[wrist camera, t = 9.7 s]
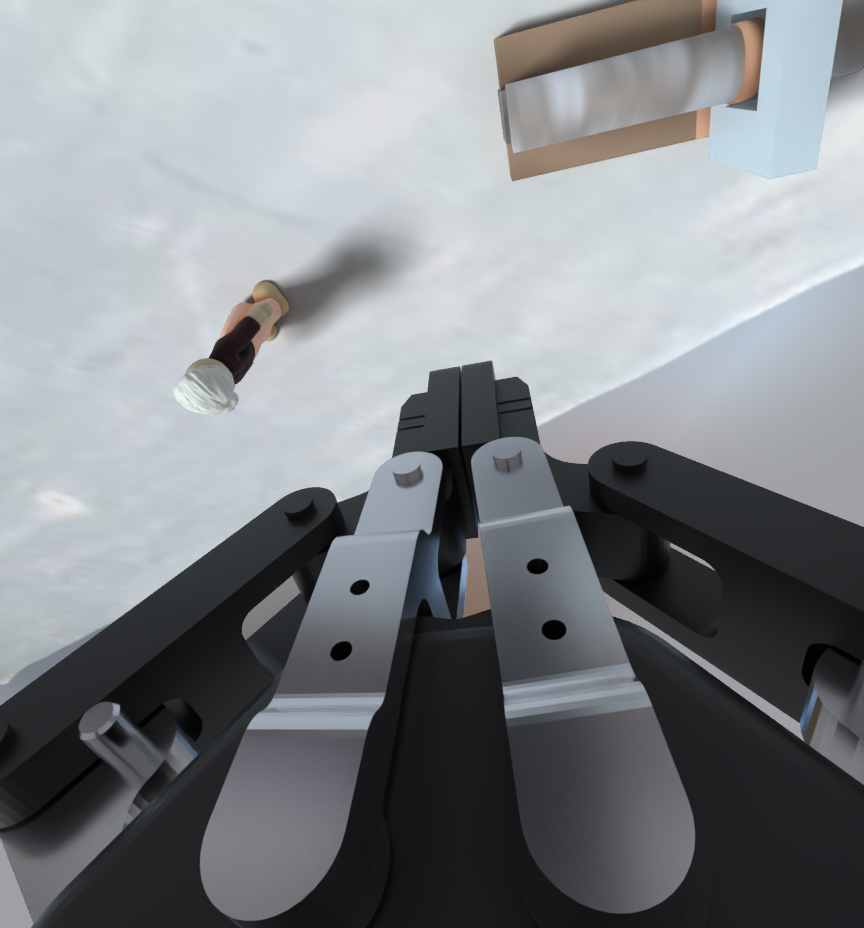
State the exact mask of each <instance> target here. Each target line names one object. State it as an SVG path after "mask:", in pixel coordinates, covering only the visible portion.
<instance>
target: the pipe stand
mask: <svg viewBox="0 0 864 928" xmlns="http://www.w3.org/2000/svg"><path fill="white" fill-rule="evenodd" d="M716 10H717V0H636V1H632V2H628V3H625V4H621V5H617V6H614V7H610V8H606V9H602V10H599V11H595V12H591V13H588V14H584V15H580V16H576V17H573V18H569V19H565V20H562V21H558V22H554V23H551V24H547V25H543V26H539V27H536V28H532V29H528V30H525V31H521V32H517V33H513V34H510V35H506V36H502V37H499V38H495V39H494V45H495V53H496V61H497V69H498V77H499V86H500V90H498V96H499V104H500V112H501V120H502V129H503V137H504V140H505V142H506V143H507V151H508V159H509V167H510V176H511V179H512V181H515V180H520V179H524V178H528V177H533V176H537V175H541V174H546V173H550V172H555V171H559V170H563V169H568V168H572V167H577V166H581V165H585V164H590V163H594V162H598V161H603V160H607V159H612V158H616V157H620V156H625V155H629V154H634V153H638V152H642V151H647V150H651V149H655V148H660V147H664V146H669V145H673V144H677V143H682V142H686V141H691V140H695V139H696V140H697V139H701V138H705V137H709V133H710V115H711V107H712V106H716V105H721V104H725V103H727V104H729V105H731V104H735V103H739V102H743V101H748V100H752V99H755V98H756V97H757V96H758V93H759V83H760V72H761V62H762V52H763V41H764V31H765V20H766V18H761V17H757V18H753V19H749V20H745V21H741V22H737V23H734V24H732V25H731V26H730V27H728V28H724V29H720V30H716V31H715V27H716ZM862 68H864V0H843V3H842V9H841V16H840V22H839V29H838V35H837V41H836V48H835V54H834V61H833V67H832V74H831V78H835V77H839V76H844V75H848V74H852V73H856V72H858V71H860V70H861V69H862Z"/></svg>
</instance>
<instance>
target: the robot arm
mask: <svg viewBox="0 0 864 928" xmlns="http://www.w3.org/2000/svg"><path fill="white" fill-rule="evenodd" d="M399 420H400V421H399V423H398V431H397V434H396V440H395V445H394V451H393V456H392V459H390V460H388V461H386V462H385V463H384V464H382V465H381V466H380V467H379V468H378V470H377V471H376V473H375V475H374V477H373V480H372V483H371V486H370V489H369V491H367V492H365V493H363V494H360V495H358V496H355V497H353V498H350V499H347V500H344V501H341V502H339V503H337V500H336V498H335V496H334V494H333V493H332V492H331V491H330V490H328V489H325V488H320V487H312V488H305V489H301V490H298V491H295V492H293V493H291V494H289V495H287V496H285V497H283V498H282V499H280V500H279V501H278V502H276V503H275V504H274V505H272V506H271V507H269V508H268V509H267V510H265V511H264V512H263V513H261V514H260V515H259V516H257V517H256V518H255V519H253V520H252V521H250V522H249V523H248V524H246V525H245V526H244V527H242V528H241V529H240V530H238V531H237V532H235V533H234V534H233V535H231V536H230V537H229V538H227V539H226V540H225V541H223V542H222V543H221V544H219V545H218V546H216V547H215V548H214V549H212V550H211V551H210V552H208V553H207V554H206V555H204V556H203V557H202V558H200V559H199V560H197V561H196V562H195V563H193V564H192V565H191V566H189V567H188V568H187V569H185V570H184V571H183V572H181V573H180V574H178V575H177V576H176V577H174V578H173V579H172V580H170V581H169V582H168V583H166V584H165V585H163V586H162V587H161V588H159V589H158V590H157V591H155V592H154V593H153V594H151V595H150V596H149V597H147V598H146V599H144V600H143V601H142V602H140V603H139V604H138V605H136V606H135V607H134V608H132V609H131V610H130V611H128V612H127V613H125V614H124V615H123V616H121V617H120V618H119V619H117V620H116V621H115V622H113V623H112V624H111V625H109V626H108V627H106V628H105V629H104V630H102V631H101V632H100V633H98V634H97V635H96V636H94V637H93V638H91V639H90V640H89V641H88V642H86V643H85V644H83V645H82V646H81V647H79V648H78V649H77V650H75V651H74V652H72V653H71V654H70V655H69V656H67V657H66V658H64V659H63V660H62V661H60V662H59V663H58V664H56V665H55V666H54V667H52V668H51V669H49V670H48V671H47V672H45V673H44V674H43V675H41V676H40V677H39V678H37V679H36V680H34V681H33V682H32V683H30V684H29V685H28V686H26V687H25V688H24V689H22V690H21V691H20V692H18V693H17V694H15V695H14V696H13V697H12V698H10V699H9V700H7V701H6V702H5V703H3V704H2V705H1V706H0V842H1V843H2V844H3V846H4V849H5V851H6V854H7V856H8V859H9V861H10V864H11V867H12V869H13V872H14V874H15V877H16V880H17V882H18V884H19V887H20V890H21V893H22V895H23V898H24V900H25V903H26V905H27V908H28V911H29V913H30V916H31V918H32V921H33V923H34V925H33V926H32V927H31V928H864V527H862V526H859V525H857V524H854V523H852V522H849V521H847V520H844V519H842V518H839V517H837V516H834V515H831V514H829V513H826V512H824V511H821V510H819V509H816V508H814V507H811V506H808V505H806V504H803V503H801V502H798V501H796V500H793V499H791V498H788V497H785V496H783V495H780V494H778V493H775V492H773V491H770V490H768V489H765V488H762V487H760V486H757V485H755V484H752V483H750V482H747V481H745V480H742V479H739V478H737V477H734V476H732V475H729V474H727V473H724V472H722V471H719V470H716V469H714V468H711V467H709V466H706V465H704V464H701V463H699V462H696V461H693V460H691V459H688V458H686V457H683V456H681V455H678V454H675V453H673V452H670V451H668V450H665V449H662V448H660V447H658V446H655V445H652V444H648V443H644V442H635V441H628V442H619V443H614V444H610V445H607V446H605V447H603V448H601V449H599V450H597V451H596V452H595V453H594V454H593V455H592V456H591V457H590V459H589V462H588V464H575V463H568V462H563V461H560V460H557V459H554V458H552V457H551V456H549V455H548V454H546V453H545V452H544V450H543V448H542V447H541V445H540V440H539V435H538V430H537V426H536V421H535V416H534V411H533V406H532V402H531V397H530V392H529V387H528V385H527V384H526V383H524V382H523V381H522V380H521V379H519V378H518V377H512V378H507V379H501V380H495V374H494V368H493V363H492V361H486V362H481V363H475V364H469V365H464V366H462V371H461V368H460V366H459V367H453V368H447V369H442V370H436V371H431V372H430V374H429V383H428V392H426V393H420V394H414V395H411V397H410V398H409V399H408V400H407V401H406V402H405V404H404V405H403V406H402V407H401V413H400V418H399ZM478 523H479V532H480V538H481V545H482V552H483V559H484V565H485V572H486V579H487V585H488V592H489V598H490V606H491V609H489V610H486V611H483V612H480V613H477V614H474V615H471V616H468V617H465V618H463V615H464V603H465V592H466V582H467V571H468V566H467V561H466V557H465V553H466V539H469V538H478ZM670 542H671V543H673V544H674V545H677V546H678V547H680V548H682V549H684V550H686V551H688V552H690V553H692V554H693V555H695V556H697V557H699V558H701V559H703V560H704V561H706V562H707V563H708V564H710V565H711V566H712V567H713V568H714V569H715V571H714V570H712V569H710V568H709V567H707V566H705V565H703V564H701V563H699V562H697V561H695V560H694V559H692V558H690V557H688V556H686V555H684V554H682V553H681V552H679V551H677V550H675V549H673V548H671V547H670ZM291 576H293V578H294V580H295V582H296V584H297V586H298V588H299V590H300V592H301V593H300V594H299V595H298V596H296V597H295V598H294V599H293V600H292V601H290V602H289V603H288V604H287V605H286V606H285V607H284V608H283V609H281V610H280V611H279V612H278V613H277V614H276V615H275V616H273V617H272V618H271V619H270V620H269V621H268V622H266V623H265V624H264V625H263V626H262V627H261V628H260V629H259V630H257V631H256V632H255V633H254V634H253V635H252V636H250V637H249V638H248V639H247V640H245V639H244V637H243V635H242V624H243V621H244V619H245V617H246V616H247V614H248V613H249V612H250V611H251V609H253V608H254V607H255V606H256V605H257V604H259V603H260V602H261V601H262V600H263V599H264V598H266V597H267V596H268V595H269V594H270V593H272V592H273V591H274V590H275V589H276V588H278V587H279V586H280V585H281V584H282V583H284V582H285V581H286V580H287V579H288V578H289V577H291ZM603 591H604V592H605V593H607V594H608V595H609V596H611V597H612V598H614V599H615V600H617V601H618V602H620V603H621V604H623V605H624V606H626V607H627V608H629V609H630V610H632V611H633V612H635V613H636V614H638V615H639V616H641V617H642V618H644V619H645V620H647V621H648V622H650V623H651V624H653V625H654V626H656V627H657V628H659V629H660V630H662V631H663V632H665V633H666V634H668V635H669V636H670V637H672V638H673V639H675V640H677V641H678V642H679V643H681V644H682V645H684V646H685V647H687V648H688V649H690V650H691V651H693V652H694V653H696V654H697V655H699V656H701V657H702V658H703V659H705V660H707V661H708V662H710V663H711V664H712V665H714V666H715V667H717V668H718V669H720V670H721V671H723V672H724V673H726V674H727V675H729V676H730V677H732V678H733V679H735V680H736V681H738V682H739V683H741V684H742V685H744V686H745V687H747V688H748V689H750V690H751V691H753V692H754V693H756V694H757V695H759V696H760V697H762V698H763V699H765V700H766V701H768V702H769V703H771V704H772V705H774V706H775V707H777V708H778V709H780V710H781V711H783V712H784V713H785V714H787V715H788V716H790V717H791V718H793V719H795V720H796V721H797V722H799V723H800V727H801V732H802V736H803V738H804V741H805V742H804V741H802V740H801V739H800V738H798V737H797V736H796V735H794V734H793V733H792V732H790V731H789V730H787V729H786V728H785V727H783V726H782V725H781V724H779V723H778V722H776V721H775V720H774V719H772V718H771V717H769V716H768V715H767V714H765V713H764V712H763V711H761V710H760V709H758V708H757V707H756V706H754V705H753V704H752V703H750V702H748V701H747V700H746V699H745V698H743V697H742V696H740V695H739V694H738V693H736V692H735V691H734V690H732V689H731V688H730V687H728V686H727V685H725V684H724V683H723V682H721V681H720V680H719V679H717V678H716V677H714V676H713V675H712V674H710V673H709V672H708V671H706V670H705V669H703V668H702V667H701V666H699V665H698V664H696V663H695V662H694V661H692V660H691V659H689V658H688V657H687V656H685V655H684V654H683V653H681V652H680V651H679V650H677V649H676V648H674V647H673V646H672V645H670V644H669V643H668V642H666V641H665V640H663V639H662V638H660V637H659V636H657V635H655V634H654V633H652V632H650V631H648V630H646V629H645V628H642V627H640V626H638V625H636V624H633V623H631V622H629V621H625V620H622V619H619V618H616V617H613V616H612V615H611V612H610V609H609V606H608V604H607V601H606V598H605V596H604V593H603Z"/></svg>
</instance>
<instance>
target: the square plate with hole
mask: <svg viewBox="0 0 864 928" xmlns="http://www.w3.org/2000/svg"><path fill="white" fill-rule="evenodd" d="M842 3H843V0H717V10H716V27H715V31H716V30H720V29H724V28H728V27H730V26H731V25H732V24H734V23H737V22H741V21H745V20H749V19H753V18H757V17H761V18H766V20H765V31H764V41H763V52H762V62H761V72H760V83H759V93H758V96H757V97H756V98H755V99H752V100H748V101H743V102H739V103H735V104H731V105H729V104H727V103H725V104H721V105H716V106H712V107H711V115H710V133H709V151H708V158H710V159H713V160H716V161H718V162H721V163H724V164H727V165H730V166H733V167H735V168H738V169H741V170H744V171H747V172H750V173H752V174H755V175H758V176H761V177H764V178H767V179H774V178H778V177H783V176H788V175H792V174H797V173H802V172H806V171H811V170H816V169H817V164H818V157H819V151H820V144H821V138H822V131H823V125H824V119H825V112H826V106H827V99H828V93H829V86H830V80H831V74H832V67H833V61H834V54H835V48H836V41H837V35H838V29H839V22H840V16H841V9H842Z"/></svg>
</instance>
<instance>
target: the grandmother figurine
mask: <svg viewBox="0 0 864 928" xmlns="http://www.w3.org/2000/svg"><path fill="white" fill-rule="evenodd" d="M253 299H254V302H255V303H254V304H250V303H239V304H238V305H236V306H235V307H234V308H233V310H232V311H231V313H230V315H229V316H228V318H227V320H226V322H225V325H224V327H223V330H222V333H221V336H220V339H219V340H218V341H217V342H216V343H215V346H214V348H213V351H212V353H211V355H210V356H209V358H206V359H200V360H198V361H196V362H194V363H193V364H192V365H191V366H190V367H189V368H188V369H187V371H186V374H185V375H184V376H183V377H182V378H181V379H180V381H179V382H178V383H177V384H176V385H175V387H174V390H173V391H174V395H175V397H176V399H177V400H178V401H179V402H180V403H181V404H182V405H183V406H184V407H185V408H187V409H189V410H191V411H193V412H196V413H200V414H214V415H215V414H218V413H227V412H230V411H232V410H233V409H234V408H235V406H236V405H237V403H238V395H237V394H236V393H235V392H234V387H235V384H237V383H238V382H240V381H241V380H242V378H243V377H244V376H245V374H246V373H247V371H248V370H249V368H250V367H251V366H252V364H253V360H254V358H255V357H256V355H257V354H258V352H259V349H260V346H261V344H262V343H263V342H265V341H272V340H273V339H274V338H275V337H276V335H277V327H276V325H275V324H274V323H275V322H276V321H277V320H278V319H279V318H280V317H283V316H284V315H286V314H287V312H288V311H289V304H288V302H287V300H286V299H285V298H284V296H283V295H282V294H281V293H280V291H279V290H278V289H277V288H276V286H275V285H273V284H272V283H270V282H267V281H263V282H260V283H258V284H257V285H256V286H255V287H254V289H253Z"/></svg>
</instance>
